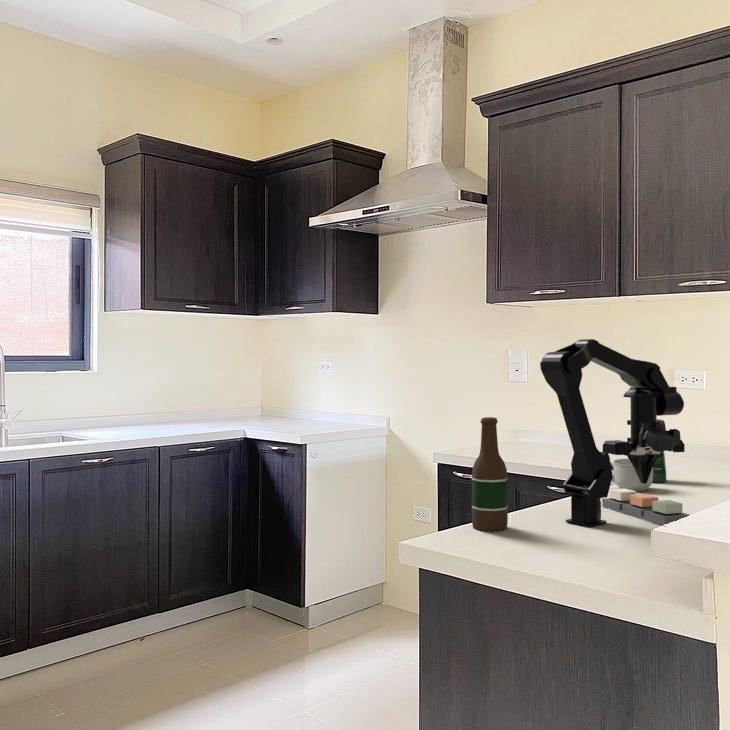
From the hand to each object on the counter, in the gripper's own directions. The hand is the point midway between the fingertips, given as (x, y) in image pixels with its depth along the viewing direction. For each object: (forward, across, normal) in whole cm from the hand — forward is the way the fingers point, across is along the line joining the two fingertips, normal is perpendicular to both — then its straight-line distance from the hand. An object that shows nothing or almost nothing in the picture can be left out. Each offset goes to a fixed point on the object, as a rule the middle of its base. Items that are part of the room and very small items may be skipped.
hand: (643, 483), depth 173 cm
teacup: (+8, +18, +31) cm, 37 cm away
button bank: (+7, 0, 0) cm, 7 cm away
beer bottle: (+8, -40, -1) cm, 41 cm away
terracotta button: (+5, 0, 0) cm, 5 cm away
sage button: (+5, 0, -8) cm, 9 cm away
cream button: (+5, 0, +8) cm, 9 cm away
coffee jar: (+8, +32, +40) cm, 52 cm away
